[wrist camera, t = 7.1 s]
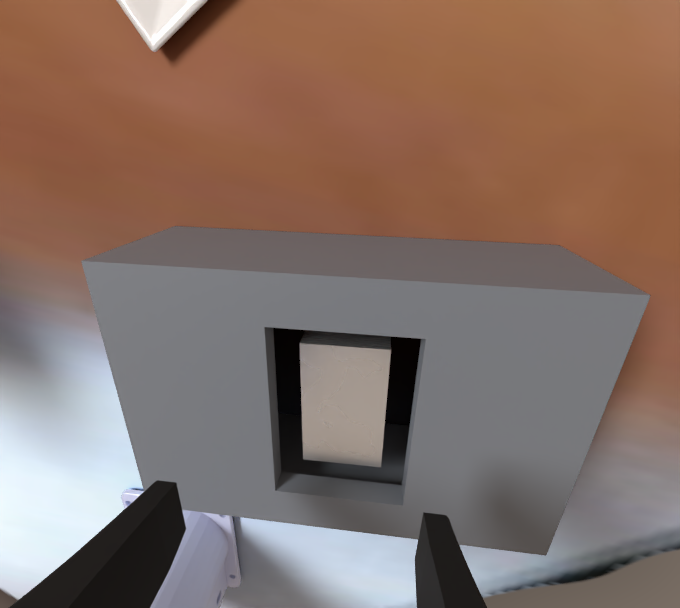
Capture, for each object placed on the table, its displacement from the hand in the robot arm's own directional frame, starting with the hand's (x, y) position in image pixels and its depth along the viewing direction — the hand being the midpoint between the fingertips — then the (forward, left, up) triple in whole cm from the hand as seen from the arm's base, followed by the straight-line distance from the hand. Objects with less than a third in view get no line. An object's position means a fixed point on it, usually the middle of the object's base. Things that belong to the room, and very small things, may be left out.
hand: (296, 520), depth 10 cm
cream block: (0, -1, -10) cm, 10 cm away
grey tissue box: (0, -1, -10) cm, 10 cm away
